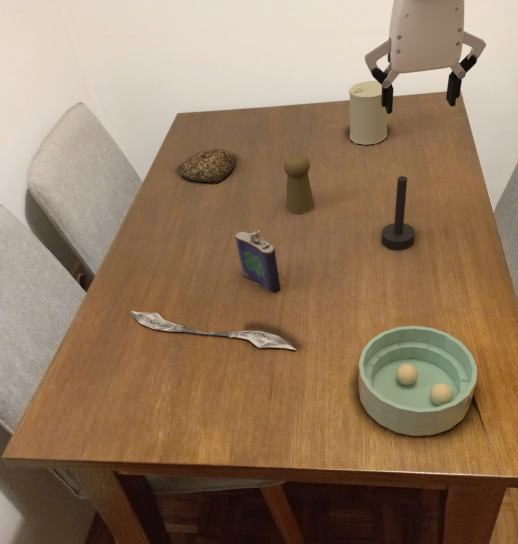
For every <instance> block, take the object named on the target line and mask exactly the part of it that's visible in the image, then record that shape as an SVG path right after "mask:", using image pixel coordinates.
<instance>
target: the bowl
mask: <svg viewBox="0 0 518 544" xmlns="http://www.w3.org/2000/svg"><path fill="white" fill-rule="evenodd" d="M403 364H410V365H413V366H414V367H415V368H416V369H417V372H418V378H417V380H416V381H415V382H414V383H413V384H410V385H404V384H402V383H400V382H399V381H398V379H397V377H396V372H397V369H398V368H399V367H400V366H401V365H403ZM477 379H478V366H477V363H476V360H475V358H474V355H473V354H472V353H471V351H470V350H469V349H468V348H467V347H466V345H465V344H464V343H463V342H462V341H461V340H458V338H456V337H454V336H453V335H451V334H450V333H447V332H444V331H442V330H439V329H436V328H434V327H428V326H421V325H407V326H405V325H404V326H397V327H393V328H391V329H387V330H384V331H382V332H380V333H379V334H377V335H376V336H374V337H372V338H371V339H370V340H369V341H368V342H367V344H366V345H365V346H364V348H363V349H362V351H361V354H360V357H359V362H358V383H357V385H358V386H357V387H358V394H359V400H360V403H361V405H362V406H363V408H364V410H365V411H366V413H367V415H369V416H370V417H371V418H372V419H373V420H374V421H376V423H378V424H379V425H380V426H382V427H384V428H386V429H388V430H390V431H393V432H394V433H398V434H402V435H407V436H412V437H420V436H421V437H422V436H434V435H437V434H441V433H443V432H446V431H449V430H451V429H452V428H453V427H455V426H456V425H457V424H459V423H460V422H461V421H463V419H464V418H465V416H466V415H467V413H468V411H469V409H470V407H471V403H472V400H473V396H474V392H475V390H476V389H475V388H476V384H477V381H478V380H477ZM440 383H443V384H446V385H448V386H449V387H450V388H451V389H452V391H453V398H452V400H451V402H450V403H447V404H445V405H437V404H435V403H434V402H433V401H432V400H431V397H430V391H431V389H432V387H433V386H434V385H436V384H440Z"/></svg>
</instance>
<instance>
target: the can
mask: <svg viewBox="0 0 518 544" xmlns="http://www.w3.org/2000/svg"><path fill="white" fill-rule="evenodd" d="M381 96H382V85H381V84H380V83H379V82H378V81H377V80H368V81H361V82H358V83H355V84H354V85H352V86H351V87H350V88H349V137H350V139H351V140H352V141H353V142H355V143H359V144H373V143H377V142H380V141H382V140H384V139H385V138H386V137H387V138H388V118H389V117H388V115H389V114H387V112H386V109H385V107H382V105H381ZM349 137H348V138H349ZM387 138H386V139H387ZM350 139H349V140H350ZM386 139H385V140H386ZM385 140H384V141H385ZM353 142H352V143H353Z"/></svg>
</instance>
